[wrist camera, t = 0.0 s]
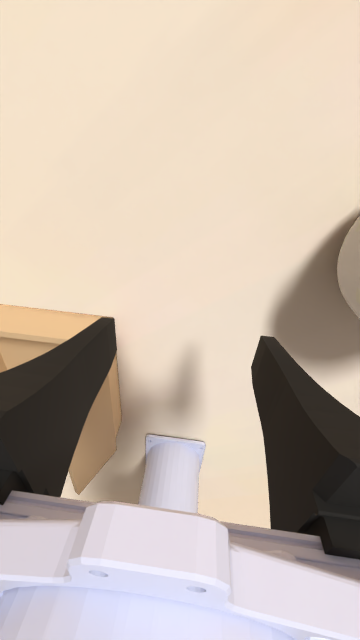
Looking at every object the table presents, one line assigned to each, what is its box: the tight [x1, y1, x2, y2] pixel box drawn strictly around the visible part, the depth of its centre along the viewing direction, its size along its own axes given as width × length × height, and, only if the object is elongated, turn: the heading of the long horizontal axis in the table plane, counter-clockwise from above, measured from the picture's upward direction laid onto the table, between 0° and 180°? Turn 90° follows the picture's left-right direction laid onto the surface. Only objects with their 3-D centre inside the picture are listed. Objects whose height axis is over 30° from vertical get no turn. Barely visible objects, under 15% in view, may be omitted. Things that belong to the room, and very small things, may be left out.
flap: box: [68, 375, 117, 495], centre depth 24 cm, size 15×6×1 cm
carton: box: [0, 304, 122, 439], centre depth 28 cm, size 16×13×4 cm
